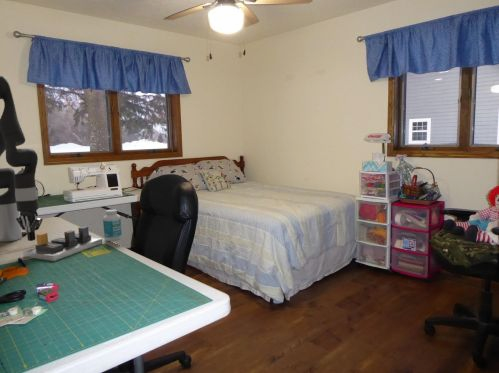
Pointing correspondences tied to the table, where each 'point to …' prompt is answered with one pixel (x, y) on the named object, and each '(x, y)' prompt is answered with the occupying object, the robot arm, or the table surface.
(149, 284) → the table surface
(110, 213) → the pill bottle
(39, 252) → the panel
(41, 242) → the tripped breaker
